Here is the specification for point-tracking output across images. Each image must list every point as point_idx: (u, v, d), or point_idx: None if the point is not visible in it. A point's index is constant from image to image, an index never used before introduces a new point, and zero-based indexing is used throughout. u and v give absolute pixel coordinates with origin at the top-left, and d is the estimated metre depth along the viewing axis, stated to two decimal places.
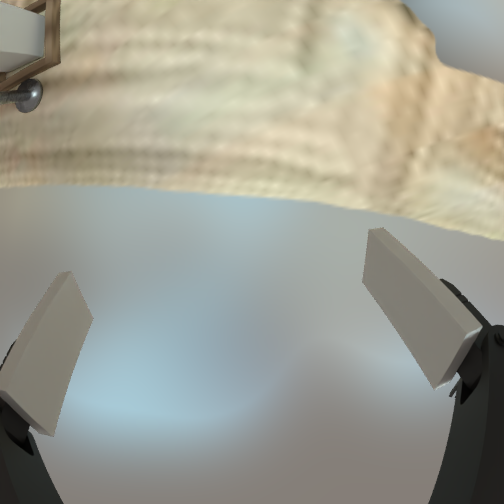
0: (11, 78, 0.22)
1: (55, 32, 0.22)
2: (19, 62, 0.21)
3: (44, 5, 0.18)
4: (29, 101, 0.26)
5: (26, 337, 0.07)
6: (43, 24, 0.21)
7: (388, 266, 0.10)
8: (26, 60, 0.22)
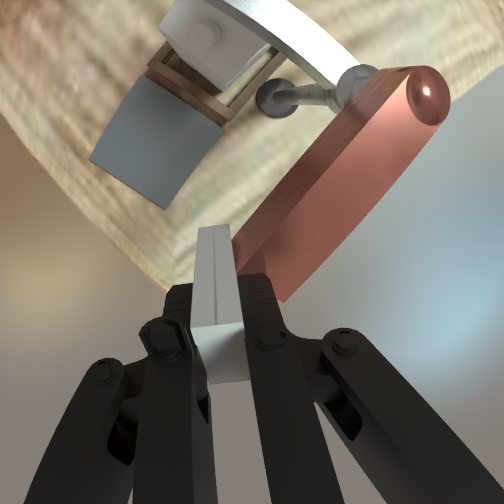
0: (249, 88, 0.29)
1: None
2: None
3: None
4: None
5: (208, 277, 0.09)
6: None
7: None
8: None
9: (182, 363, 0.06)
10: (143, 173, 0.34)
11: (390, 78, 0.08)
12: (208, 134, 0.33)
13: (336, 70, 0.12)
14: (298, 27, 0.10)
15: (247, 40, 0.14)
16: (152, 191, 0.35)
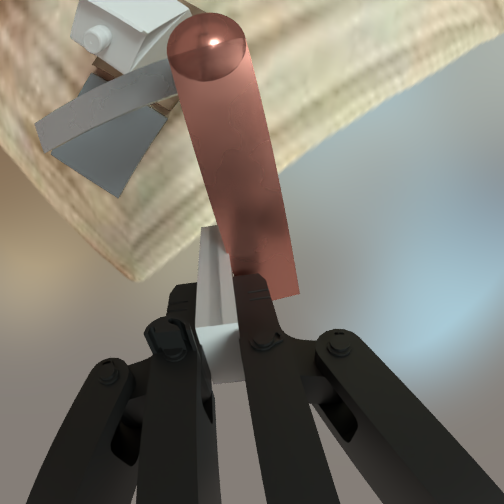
0: None
1: None
2: None
3: None
4: None
5: (212, 276, 0.09)
6: None
7: None
8: None
9: (187, 363, 0.06)
10: (96, 164, 0.33)
11: None
12: (152, 124, 0.32)
13: None
14: (118, 93, 0.11)
15: (131, 36, 0.13)
16: (105, 180, 0.35)
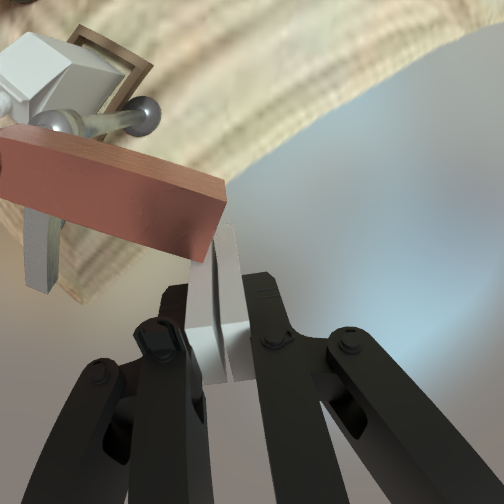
0: None
1: None
2: (104, 93, 0.26)
3: (78, 41, 0.23)
4: (148, 118, 0.30)
5: (203, 277, 0.09)
6: (95, 54, 0.25)
7: None
8: (110, 87, 0.27)
9: (176, 363, 0.06)
10: None
11: None
12: None
13: None
14: (33, 217, 0.13)
15: (21, 101, 0.13)
16: None
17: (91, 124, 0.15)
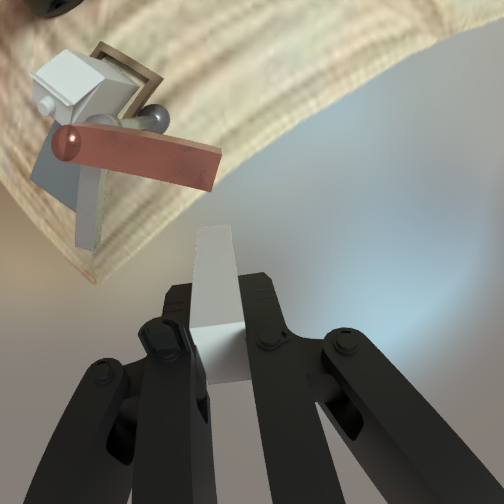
0: (125, 117, 0.35)
1: None
2: (123, 101, 0.34)
3: (100, 55, 0.30)
4: (159, 122, 0.38)
5: (207, 277, 0.09)
6: (114, 67, 0.32)
7: None
8: (128, 96, 0.34)
9: (181, 363, 0.06)
10: (63, 188, 0.40)
11: None
12: None
13: None
14: (86, 190, 0.20)
15: (65, 105, 0.21)
16: (70, 201, 0.41)
17: (123, 125, 0.23)
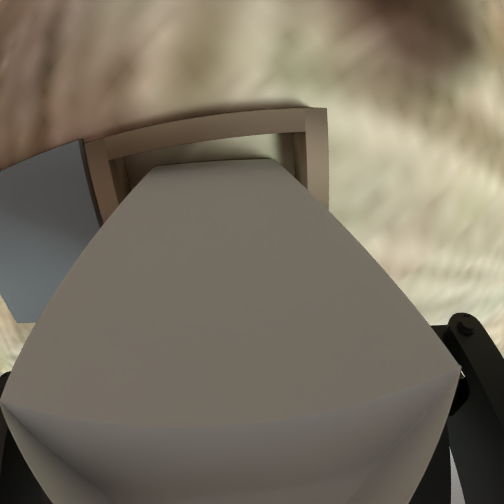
0: None
1: None
2: None
3: None
4: None
5: None
6: None
7: None
8: None
9: None
10: (7, 272, 0.16)
11: None
12: None
13: None
14: None
15: None
16: (10, 297, 0.17)
17: None
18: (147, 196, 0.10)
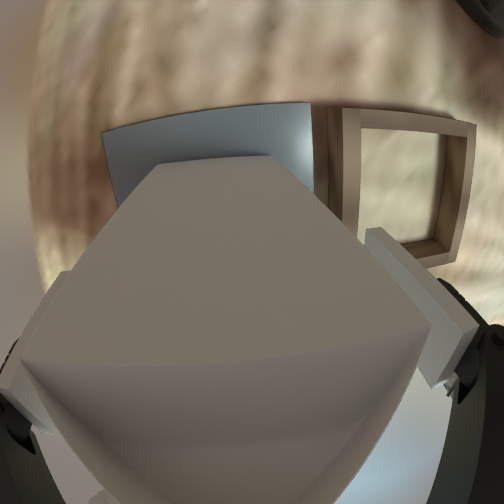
0: None
1: None
2: None
3: None
4: None
5: (28, 336, 0.07)
6: None
7: (385, 265, 0.10)
8: None
9: None
10: None
11: None
12: None
13: None
14: None
15: None
16: None
17: None
18: (152, 189, 0.11)
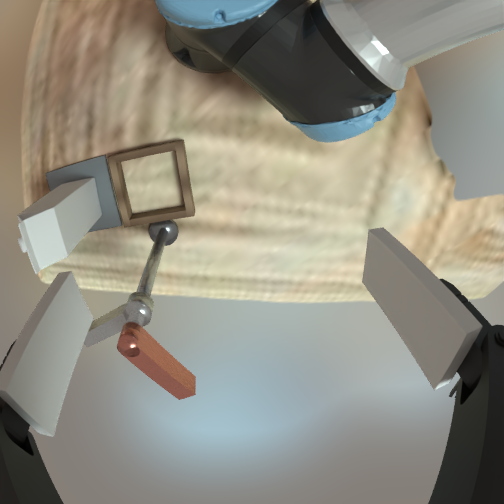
0: (148, 218, 0.45)
1: (189, 184, 0.45)
2: None
3: None
4: None
5: (26, 337, 0.07)
6: (94, 186, 0.42)
7: (388, 266, 0.10)
8: None
9: None
10: None
11: None
12: (111, 220, 0.46)
13: (127, 322, 0.30)
14: (108, 328, 0.30)
15: None
16: None
17: None
18: (50, 193, 0.36)
